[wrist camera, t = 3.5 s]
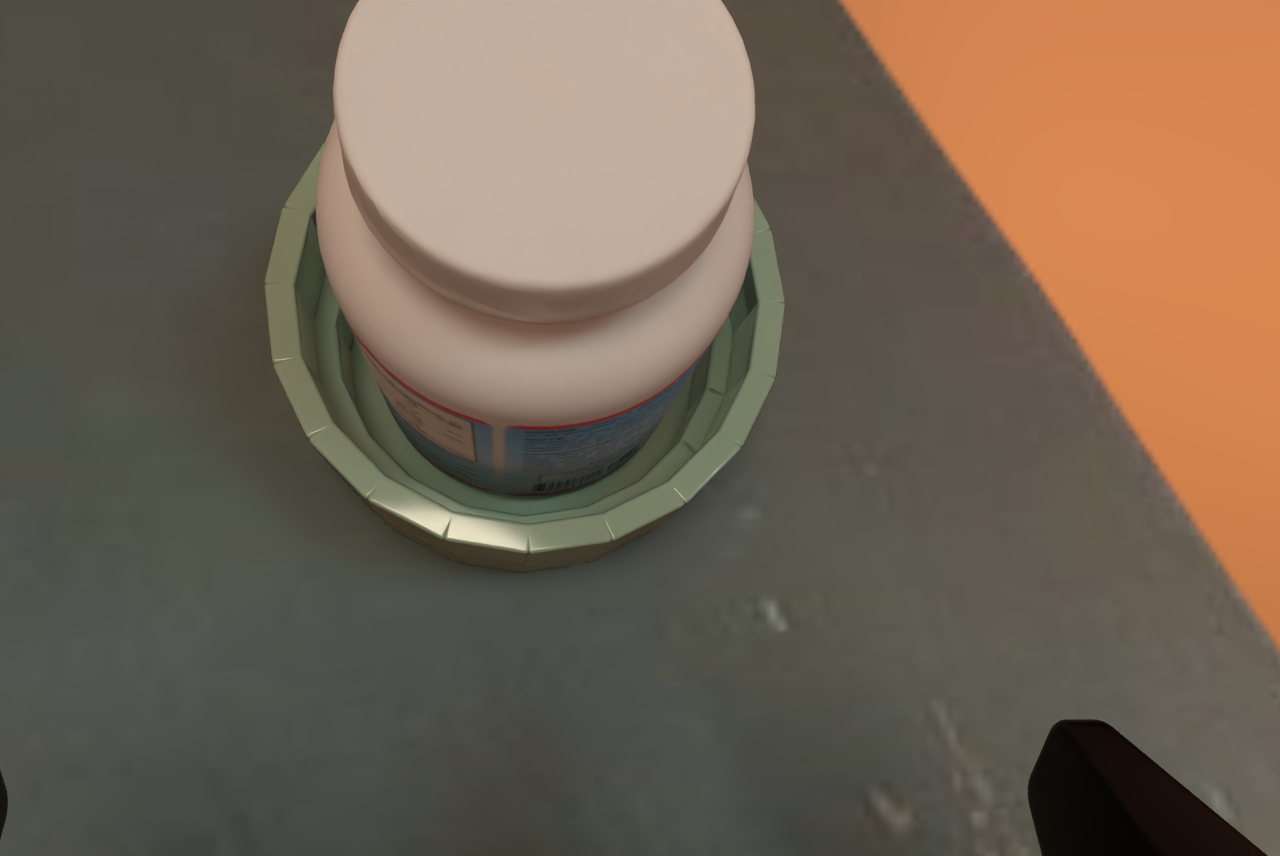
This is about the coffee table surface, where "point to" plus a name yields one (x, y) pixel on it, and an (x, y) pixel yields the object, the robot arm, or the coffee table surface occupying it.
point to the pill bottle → (536, 222)
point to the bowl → (482, 522)
